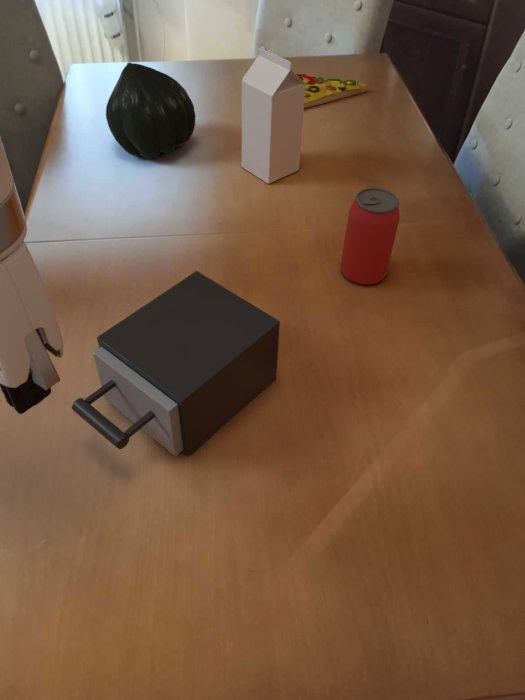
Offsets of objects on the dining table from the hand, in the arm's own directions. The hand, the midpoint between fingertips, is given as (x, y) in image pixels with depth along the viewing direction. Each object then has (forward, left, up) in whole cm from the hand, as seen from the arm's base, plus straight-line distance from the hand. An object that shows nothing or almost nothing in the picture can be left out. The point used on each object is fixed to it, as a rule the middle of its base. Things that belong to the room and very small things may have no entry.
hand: (30, 398), depth 50 cm
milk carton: (+49, +44, -15) cm, 67 cm away
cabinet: (+17, +6, -14) cm, 23 cm away
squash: (+34, +60, -15) cm, 70 cm away
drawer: (+13, +4, -13) cm, 19 cm away
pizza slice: (+73, +65, -15) cm, 99 cm away
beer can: (+47, +14, -15) cm, 51 cm away
